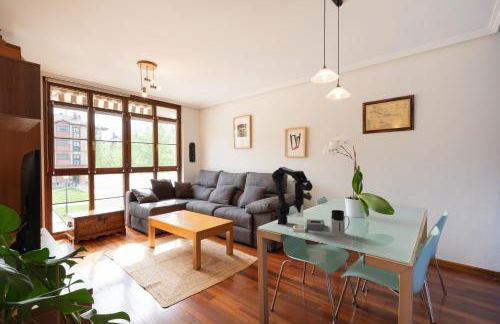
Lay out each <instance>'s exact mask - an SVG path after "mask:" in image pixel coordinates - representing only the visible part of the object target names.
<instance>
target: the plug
mask: <svg viewBox="0 0 500 324" xmlns="http://www.w3.org/2000/svg"><path fill="white" fill-rule="evenodd" d="M294 206H295V205H294ZM294 208H295V218H304V204H303V205H302V206H301V211H300V213H298V210H297V208H296V206H295V207H294Z"/></svg>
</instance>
